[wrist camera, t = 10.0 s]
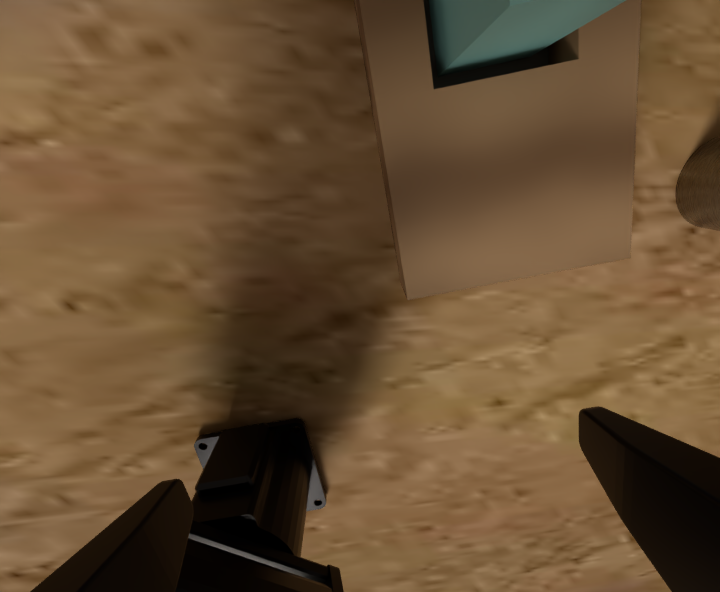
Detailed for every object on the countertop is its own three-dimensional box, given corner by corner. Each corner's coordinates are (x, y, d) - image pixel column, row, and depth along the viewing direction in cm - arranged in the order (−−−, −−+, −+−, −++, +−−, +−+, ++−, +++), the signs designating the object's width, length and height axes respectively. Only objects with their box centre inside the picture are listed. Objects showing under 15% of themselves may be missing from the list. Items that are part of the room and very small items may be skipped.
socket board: (596, 246, 19) (630, 258, 17) (401, 283, 20) (407, 300, 18) (601, -174, 14) (651, -241, 12) (335, -112, 15) (332, -164, 12)
